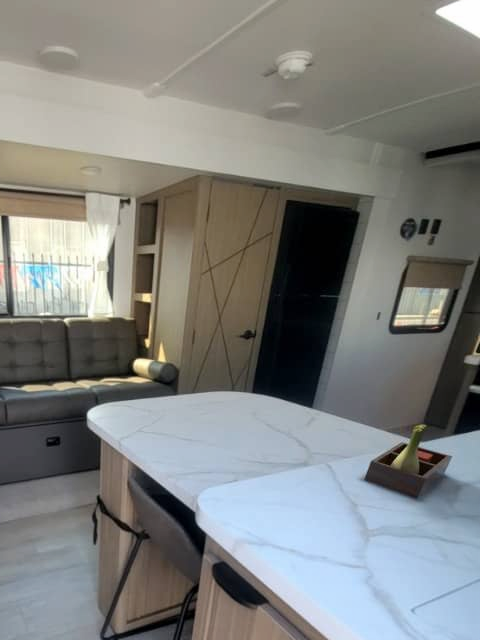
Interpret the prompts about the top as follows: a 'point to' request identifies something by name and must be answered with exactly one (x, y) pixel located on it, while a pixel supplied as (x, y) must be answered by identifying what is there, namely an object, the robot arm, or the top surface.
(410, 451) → the fennel bulb
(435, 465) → the tray
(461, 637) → the top surface
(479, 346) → the robot arm
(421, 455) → the red block
